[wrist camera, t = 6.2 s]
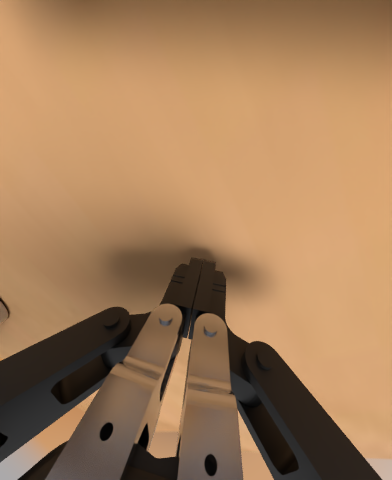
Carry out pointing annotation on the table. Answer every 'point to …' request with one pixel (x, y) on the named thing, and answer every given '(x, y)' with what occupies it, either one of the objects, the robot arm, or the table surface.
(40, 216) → the table surface
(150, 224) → the table surface
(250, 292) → the table surface
